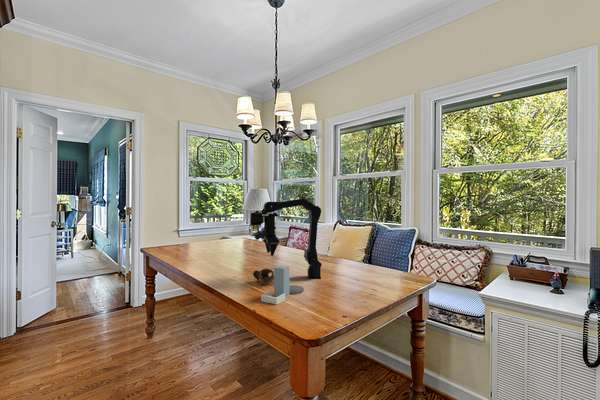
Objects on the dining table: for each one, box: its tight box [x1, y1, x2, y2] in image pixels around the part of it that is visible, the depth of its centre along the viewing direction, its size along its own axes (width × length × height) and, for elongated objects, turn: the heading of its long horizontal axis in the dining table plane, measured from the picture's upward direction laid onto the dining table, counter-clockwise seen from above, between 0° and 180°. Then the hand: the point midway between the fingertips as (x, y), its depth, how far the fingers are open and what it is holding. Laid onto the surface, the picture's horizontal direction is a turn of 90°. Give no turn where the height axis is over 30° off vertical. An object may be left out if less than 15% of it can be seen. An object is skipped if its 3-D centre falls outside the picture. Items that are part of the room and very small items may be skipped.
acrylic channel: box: [260, 290, 286, 305], centre depth 123 cm, size 7×8×2 cm
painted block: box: [273, 264, 291, 298], centre depth 129 cm, size 5×5×13 cm
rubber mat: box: [290, 284, 305, 295], centre depth 137 cm, size 12×12×1 cm
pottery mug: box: [252, 268, 274, 286], centre depth 149 cm, size 12×10×8 cm
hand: (270, 254), depth 153 cm, fingers open, 9 cm apart
